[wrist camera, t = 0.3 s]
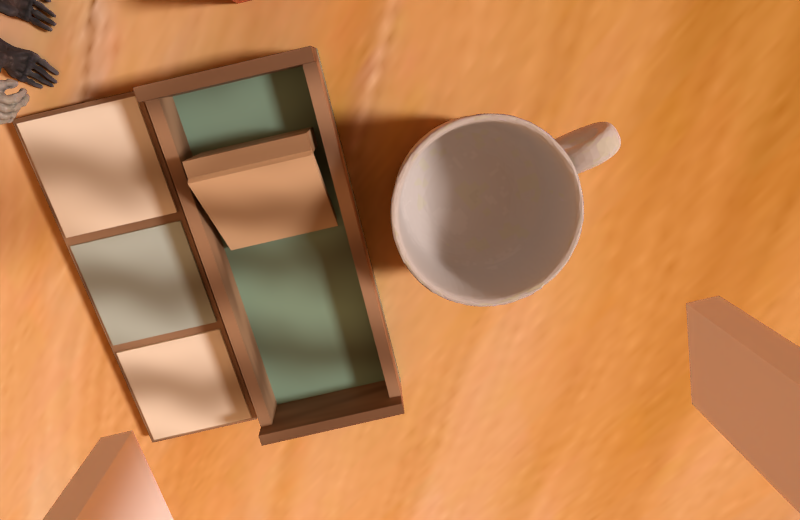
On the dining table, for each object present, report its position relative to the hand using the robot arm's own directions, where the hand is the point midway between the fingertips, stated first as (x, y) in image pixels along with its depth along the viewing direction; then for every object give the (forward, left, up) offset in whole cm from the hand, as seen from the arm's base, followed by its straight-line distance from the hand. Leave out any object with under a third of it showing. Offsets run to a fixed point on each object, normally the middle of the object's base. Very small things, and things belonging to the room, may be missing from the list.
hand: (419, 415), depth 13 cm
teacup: (+1, +7, -26) cm, 27 cm away
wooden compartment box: (+2, -12, -26) cm, 29 cm away
